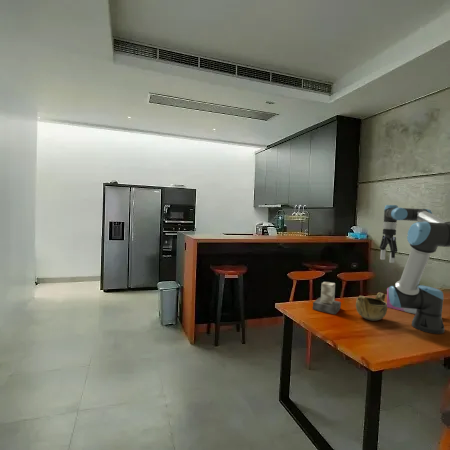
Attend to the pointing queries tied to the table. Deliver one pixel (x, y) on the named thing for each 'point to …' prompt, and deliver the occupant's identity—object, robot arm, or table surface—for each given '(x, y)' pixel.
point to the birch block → (327, 292)
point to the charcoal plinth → (326, 306)
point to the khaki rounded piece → (372, 307)
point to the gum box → (397, 307)
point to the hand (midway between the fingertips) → (387, 261)
